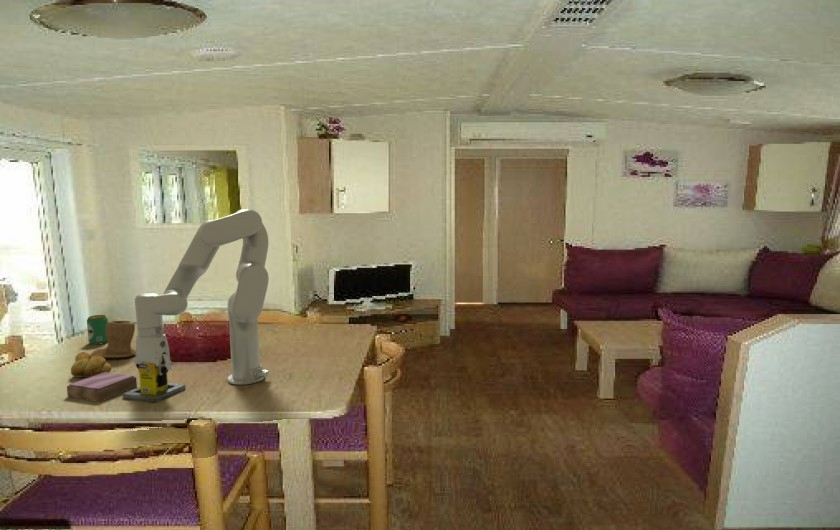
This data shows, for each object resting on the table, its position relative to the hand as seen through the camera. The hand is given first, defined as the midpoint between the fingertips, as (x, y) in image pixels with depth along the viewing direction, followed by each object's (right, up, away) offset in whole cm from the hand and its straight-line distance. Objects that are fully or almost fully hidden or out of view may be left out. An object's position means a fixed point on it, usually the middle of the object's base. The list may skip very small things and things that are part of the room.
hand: (154, 384), depth 170 cm
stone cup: (-37, +1, +43) cm, 57 cm away
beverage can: (-58, +4, +65) cm, 87 cm away
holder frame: (0, -3, 0) cm, 3 cm away
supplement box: (0, -3, 0) cm, 3 cm away
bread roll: (-33, -1, +20) cm, 39 cm away
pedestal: (-18, -3, +3) cm, 19 cm away
